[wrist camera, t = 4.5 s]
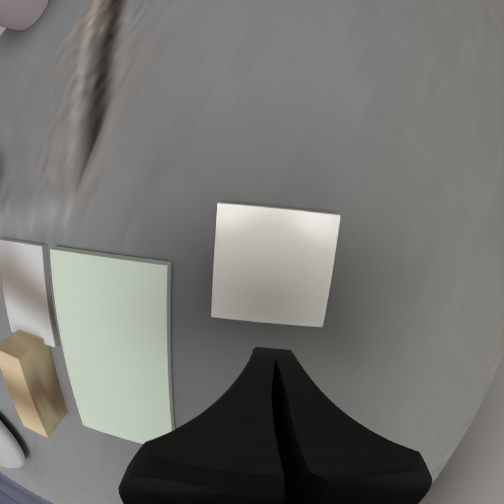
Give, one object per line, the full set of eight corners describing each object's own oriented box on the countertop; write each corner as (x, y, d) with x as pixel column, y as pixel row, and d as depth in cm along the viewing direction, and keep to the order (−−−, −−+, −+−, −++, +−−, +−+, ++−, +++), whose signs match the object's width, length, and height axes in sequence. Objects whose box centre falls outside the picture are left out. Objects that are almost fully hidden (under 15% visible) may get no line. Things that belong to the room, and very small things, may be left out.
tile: (322, 327, 16) (340, 215, 15) (211, 316, 16) (217, 203, 15) (318, 316, 17) (334, 212, 16) (215, 307, 17) (221, 201, 16)
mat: (175, 443, 20) (173, 451, 19) (87, 419, 20) (83, 425, 19) (171, 261, 17) (167, 265, 16) (57, 246, 17) (50, 249, 16)
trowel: (78, 415, 20) (58, 442, 17) (36, 397, 20) (15, 421, 17) (47, 244, 17) (9, 259, 13) (2, 237, 17) (-33, 249, 13)
